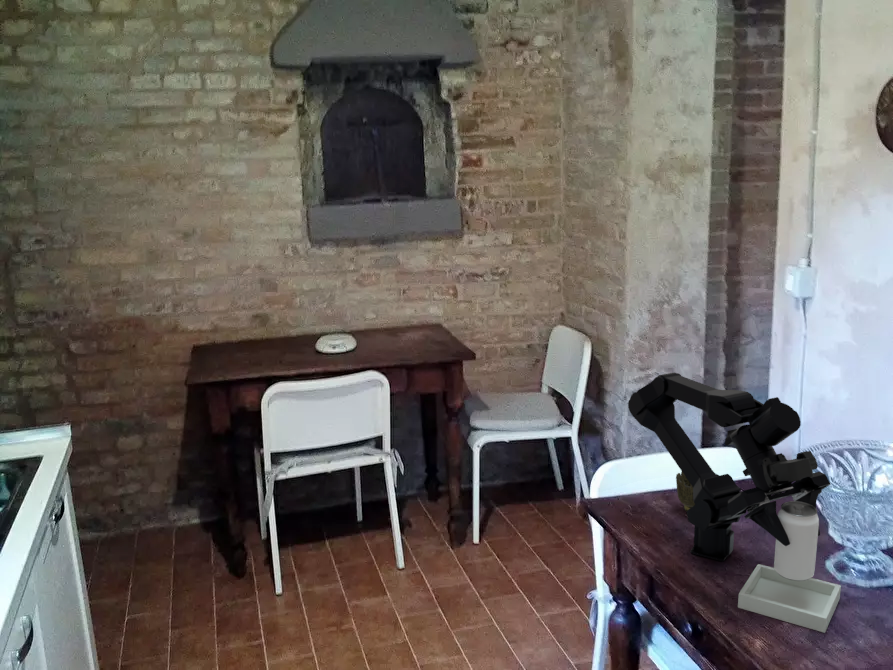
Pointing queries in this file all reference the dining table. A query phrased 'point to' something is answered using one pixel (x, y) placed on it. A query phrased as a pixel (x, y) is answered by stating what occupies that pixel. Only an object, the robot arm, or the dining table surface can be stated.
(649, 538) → the dining table surface
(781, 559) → the can
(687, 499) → the olive piece
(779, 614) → the tray
